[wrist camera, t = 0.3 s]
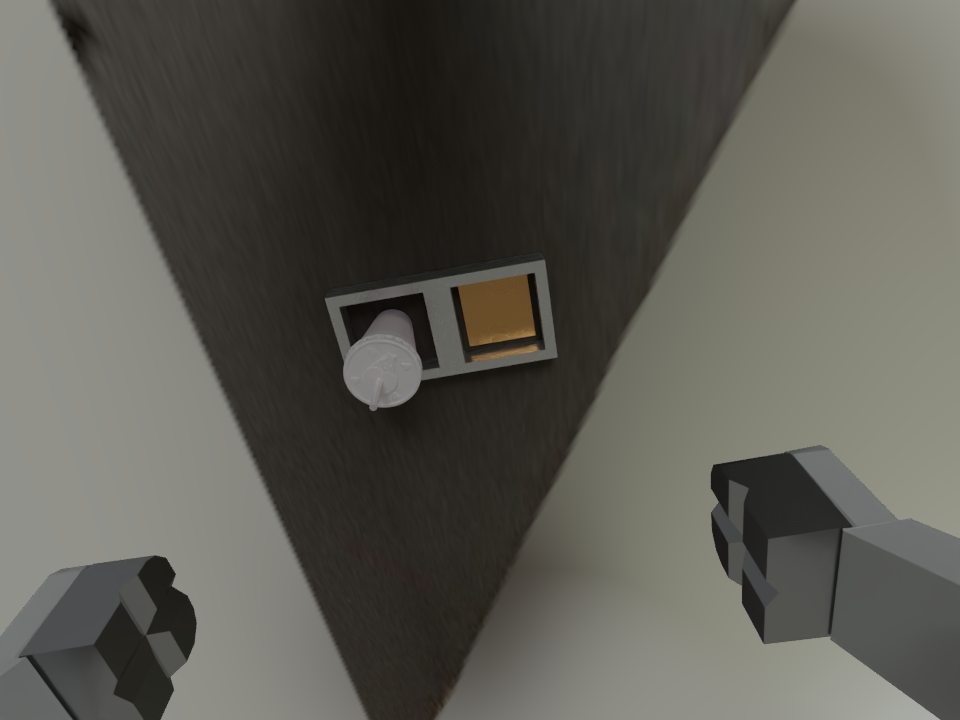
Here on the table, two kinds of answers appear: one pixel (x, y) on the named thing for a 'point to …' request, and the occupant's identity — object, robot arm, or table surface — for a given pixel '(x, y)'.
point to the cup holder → (465, 312)
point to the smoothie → (384, 362)
